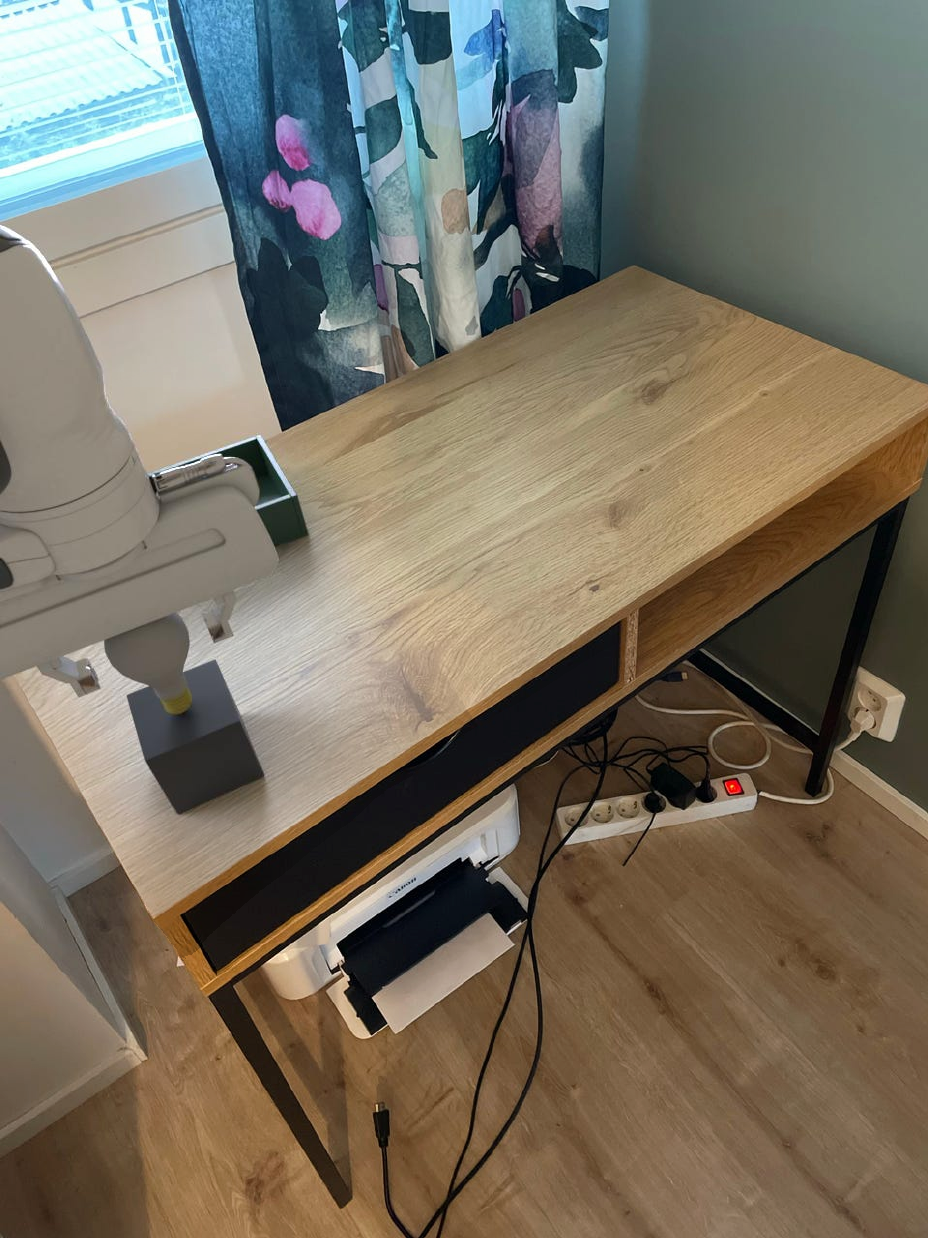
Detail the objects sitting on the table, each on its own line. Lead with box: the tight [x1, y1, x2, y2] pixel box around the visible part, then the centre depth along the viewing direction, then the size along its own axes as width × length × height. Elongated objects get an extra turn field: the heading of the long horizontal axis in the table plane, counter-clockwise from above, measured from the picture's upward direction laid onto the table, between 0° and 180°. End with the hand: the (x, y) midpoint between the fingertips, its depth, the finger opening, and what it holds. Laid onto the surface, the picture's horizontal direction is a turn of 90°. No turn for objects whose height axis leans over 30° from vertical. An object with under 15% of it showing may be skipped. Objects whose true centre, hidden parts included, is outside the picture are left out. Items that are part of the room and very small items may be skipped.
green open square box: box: [147, 434, 309, 548], centre depth 90 cm, size 12×12×5 cm
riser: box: [126, 659, 265, 815], centre depth 68 cm, size 7×7×7 cm
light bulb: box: [103, 612, 192, 714], centre depth 62 cm, size 6×6×10 cm
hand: (156, 660), depth 62 cm, fingers open, 8 cm apart
